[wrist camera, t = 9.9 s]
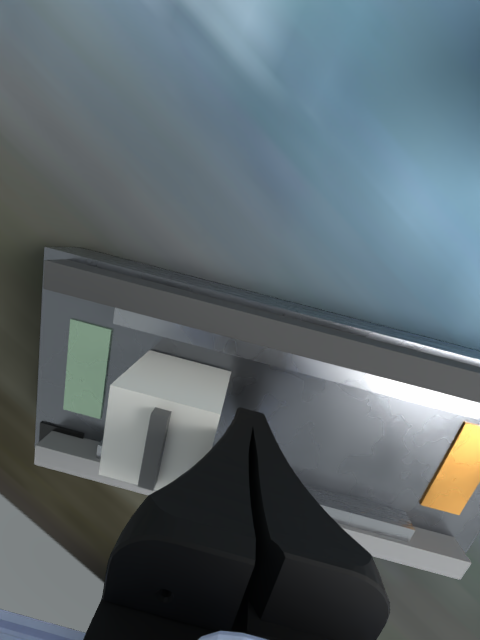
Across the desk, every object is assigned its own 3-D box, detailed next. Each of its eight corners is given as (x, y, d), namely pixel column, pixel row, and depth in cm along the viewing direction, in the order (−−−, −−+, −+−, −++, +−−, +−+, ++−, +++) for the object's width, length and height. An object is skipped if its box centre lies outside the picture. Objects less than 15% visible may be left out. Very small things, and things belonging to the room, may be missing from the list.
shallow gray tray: (444, 553, 14) (460, 579, 13) (52, 447, 15) (34, 464, 13) (549, 385, 12) (580, 399, 10) (65, 259, 12) (44, 260, 11)
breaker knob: (213, 441, 14) (195, 510, 10) (137, 420, 14) (92, 483, 10) (231, 371, 13) (219, 421, 9) (149, 350, 13) (103, 390, 9)
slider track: (431, 517, 17) (473, 584, 13) (66, 419, 17) (18, 461, 14) (521, 361, 14) (603, 397, 11) (81, 247, 14) (25, 246, 11)
